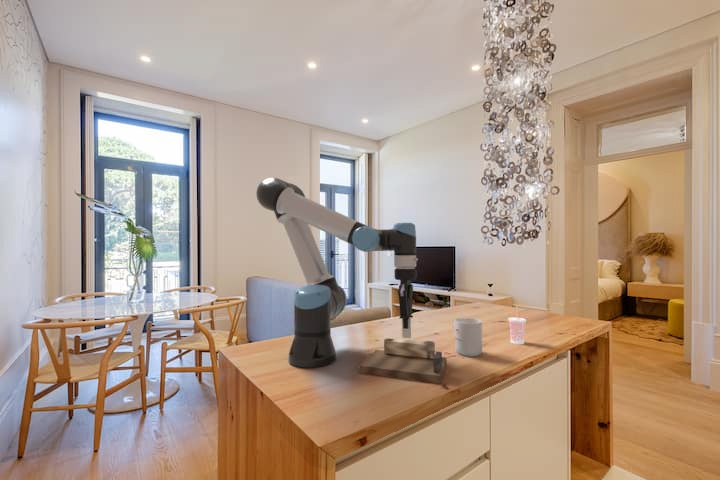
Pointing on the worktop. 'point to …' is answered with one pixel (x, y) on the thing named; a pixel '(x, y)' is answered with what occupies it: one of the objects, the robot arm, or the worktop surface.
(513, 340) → the beverage cup
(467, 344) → the mug
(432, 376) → the wooden base board
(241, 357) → the worktop surface
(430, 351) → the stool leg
